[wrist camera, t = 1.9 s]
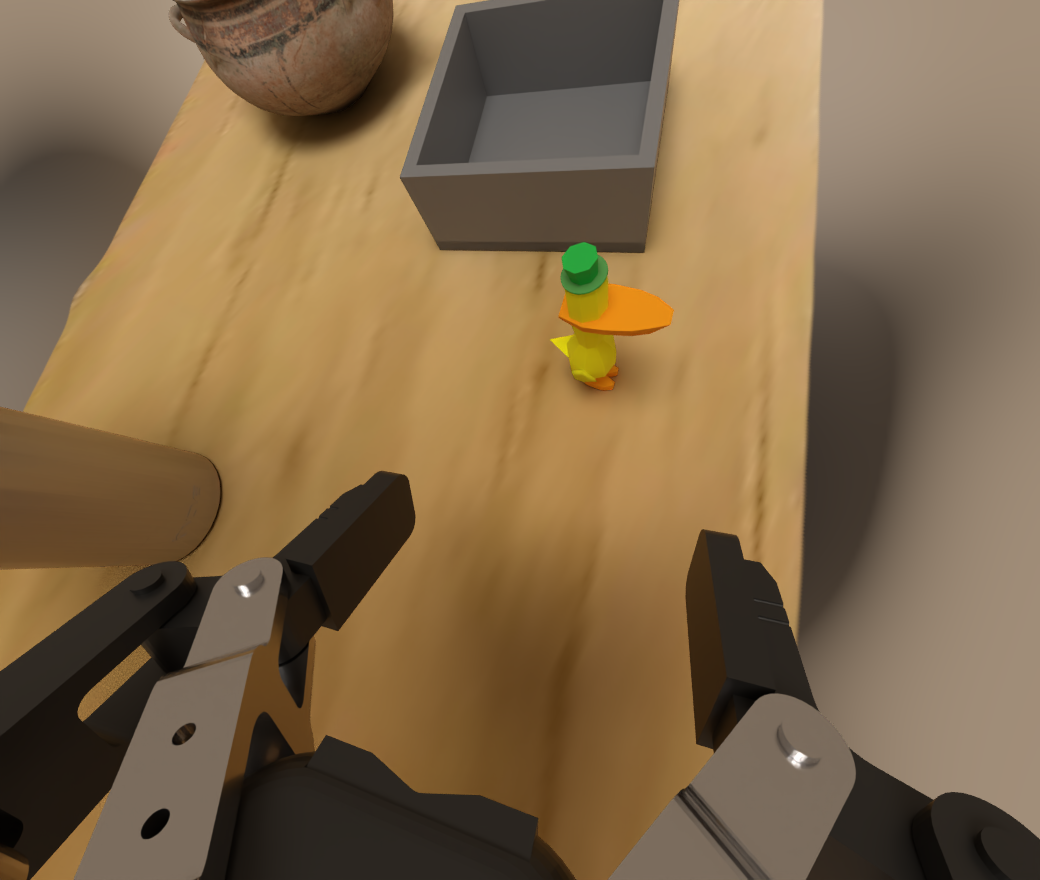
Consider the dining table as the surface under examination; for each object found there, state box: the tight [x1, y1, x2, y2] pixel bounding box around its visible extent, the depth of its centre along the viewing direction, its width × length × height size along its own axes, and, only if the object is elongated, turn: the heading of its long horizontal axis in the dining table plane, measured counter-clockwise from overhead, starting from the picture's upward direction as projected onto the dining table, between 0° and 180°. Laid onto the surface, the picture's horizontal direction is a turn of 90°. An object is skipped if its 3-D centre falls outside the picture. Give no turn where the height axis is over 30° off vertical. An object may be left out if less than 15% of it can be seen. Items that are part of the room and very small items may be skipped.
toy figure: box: [550, 242, 674, 391], centre depth 22 cm, size 7×4×12 cm, turn 74°
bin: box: [400, 0, 679, 252], centre depth 30 cm, size 17×17×7 cm
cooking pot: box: [169, 0, 393, 116], centre depth 37 cm, size 25×19×12 cm
